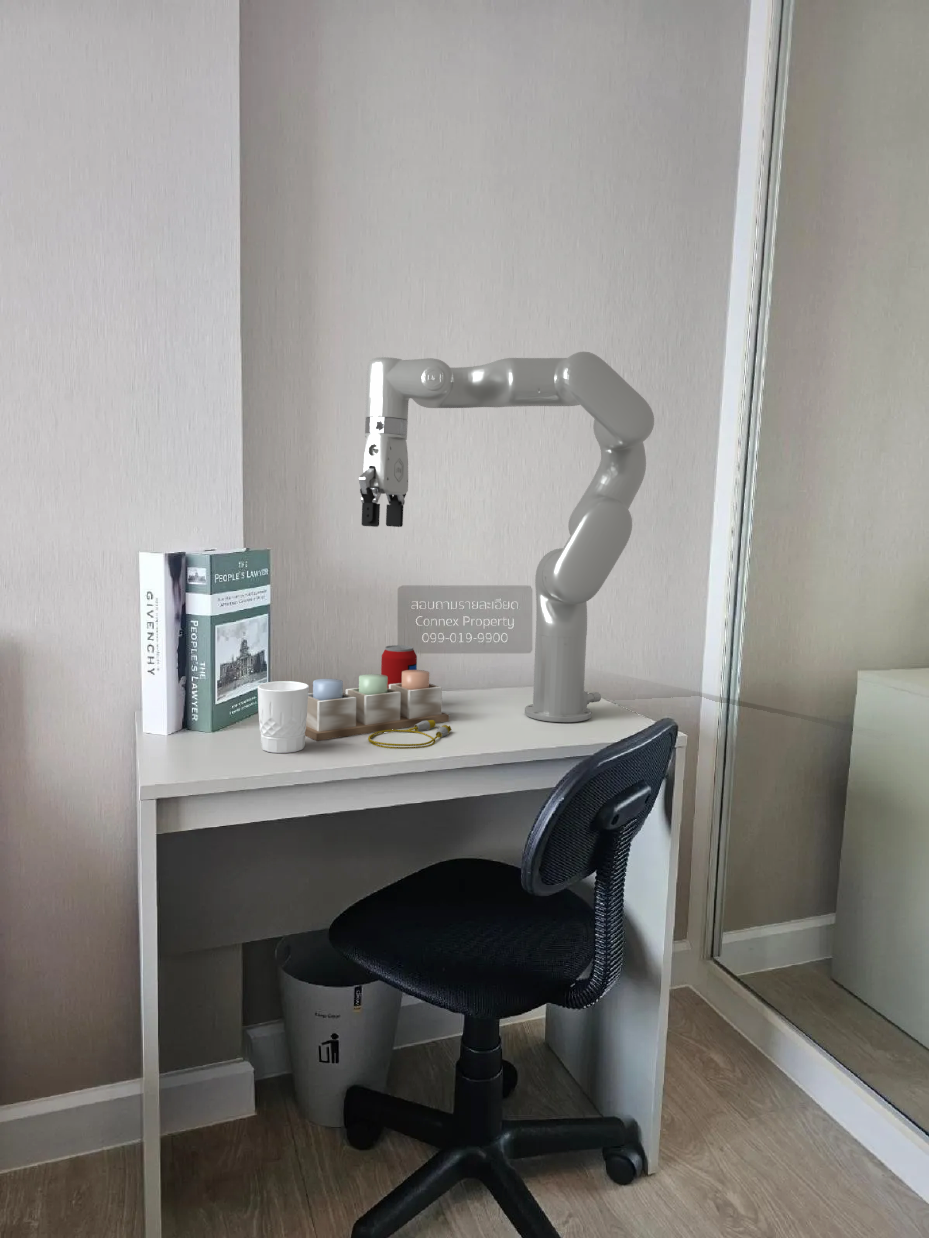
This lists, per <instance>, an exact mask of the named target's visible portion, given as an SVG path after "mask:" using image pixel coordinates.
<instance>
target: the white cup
mask: <svg viewBox="0 0 929 1238" xmlns="http://www.w3.org/2000/svg"><path fill="white" fill-rule="evenodd" d="M309 687H310V686H309V684H307V683H305V682H304V683H303V682H300V681H289V680H284V681H279V680H278V681H269V682H264V683H263V682H262V683H260V684H258V685H257V704H258V705H257V706H258V707H257V708H258V709H257V711H258V721H259V732H260V748H261V749H262V751H264V752H268V753H274V754H287V753H295V752H296V753H297V752H299V751H301V750H303V749H304V748H305V746H306V743H305V742H306V736H305V731H306V720H307V709H308V693H309Z"/></svg>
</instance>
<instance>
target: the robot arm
mask: <svg viewBox="0 0 929 1238" xmlns="http://www.w3.org/2000/svg"><path fill="white" fill-rule="evenodd" d="M365 394H366V397H365V398H366V400H365V425H364V427H365V428H364V437H365V438H366V439H365V444H364V453H363V461H362V463H363V464H362V473H361V475H360V476H359V477H358V481H359V493H360V495H361V497H360V502H361V504H362V505H361V526H363V527H373V528H374V527H375V528H378V527H379V526H380V514H381V513H380V512H381V503H378V502H379V500H380V497H381V495H382V494H385V496H386V498H387V502H388V504H386V512H385V526H386V527H394V528H395V527H398V528H402V527H403V526H404V505H405V497H406V495H407V493H408V492H409V453H408V444H407V440H408V424H409V422H408V421H409V402H410V401H409V400H411V399H412V400H413V401H414V402H415V403H416V404H417V405H419V406H421V407H424V408H426V409H427V408H428V409H469V408H470V409H473V408H506V407H507V408H509V407H514V408H515V407H575V406H580V407H582V408H583V409H584V410H585V412H587V413H588V414H589V415H590V416H591V417H592V418H594V419H593V424H592V425H593V433H594V437H595V439H596V441H597V443H598V446H599V449H600V463H599V465H598V468H597V469H596V472H595V474H594V475H593V477H592V480H591V482H590V483H589V484H588V487H587V489H586V490H585V492H584V493H583V495H582V496H581V498H580V500H579V501H578V503H577V504H576V506H575V507H574V508H573V511H572V513H571V514H570V517H569V518H568V519H569V520H568V532H569V534H570V536H569V538H568V540H567V541H566V542H565V545H564V546H563V547H562V548H556V549H552V550H550V551H549V552H546V553H545V555H543V556H542V558H541V559H540V561H539V563H538V564H537V567H536V571H535V579H534V580H535V581H534V582H535V583H534V584H535V602H536V603H535V604H536V606H535V607H536V609H535V610H536V612H535V613H536V615H535V616H536V617H535V618H536V620H535V625H536V626H535V643H534V644H535V647H534V669H533V670H534V671H533V673H534V674H533V695H532V703H531V704H528V705H526V706H525V707H524V715H526V717H528V718H531V719H533V720H534V719H535V720H538V721H544V722H550V723H577V722H578V723H579V722H584V721H587V720H589V719H591V717H592V710H591V709H590V708H589V707H588V705H589V704H590V703H598V702H600V701H601V700H602V697H601V693H600V692H599V691H593V692H589V693H588V691H586V690H585V677H586V676H585V675H586V674H585V673H586V655H587V652H586V651H587V635H588V606H587V605H588V604H587V602H588V601H589V600H591V599H593V598H594V597H595V596H596V595H597V593H598V592H599V591H600V589H601V588H602V587H603V585H604V584H605V582H606V580H607V579H608V577H609V576H610V574H611V572H612V570H613V569H614V567H615V566H616V563H617V562H618V560H619V558H620V557H621V555H622V553H623V551H624V550H625V548H626V546H627V544H628V543H629V540H630V538H631V535H632V531H633V518H632V514H631V512H630V510H629V509H630V507H631V505H632V503H633V501H634V500H635V497H636V495H637V494H638V491H639V490H640V488H641V485H642V483H643V481H644V478H645V475H646V470H647V457H646V449H645V444H644V442H645V441H646V440H647V439H648V438H649V437H650V436H651V434H652V433H653V430H654V426H655V417H654V415H655V414H654V412H653V409H652V407H651V406H650V404H649V402H648V401H647V400H646V399H645V398H644V397H643V396H642V394H640V393H639V392H638V391H637V390H636V389H635V388H633V387H632V386H631V385H630V384H629V383H628V382H627V381H626V380H625V379H624V378H623V377H622V376H621V375H620V374H619V373H618V372H617V371H616V370H615V369H613V367H611V366H610V365H609V364H608V363H607V362H606V361H605V360H603V358H601V357H600V356H598V355H596V354H595V353H593V352H589V351H578V352H575V353H573V354H571V355H570V356H569V357H508V358H501V359H498V360H496V361H495V360H494V361H492V362H489V363H486V364H482V365H476V366H475V365H474V366H473V365H472V366H462V367H450V366H449V365H448V364H447V363H446V362H445V361H443V360H441V359H437V358H429V357H427V358H419V359H401V358H395V357H388V356H387V357H386V356H385V357H384V356H383V357H381V356H380V357H375V358H372V359H371V360H369V362H368V363H367V370H366V393H365Z"/></svg>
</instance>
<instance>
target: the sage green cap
mask: <svg viewBox="0 0 929 1238" xmlns="http://www.w3.org/2000/svg"><path fill="white" fill-rule="evenodd" d="M387 681H388V677H387V676H385V675H381V673H379V674H378V673H375V674H374V673H370V674H368V673H367V674H366V673H365V674H360V675H359V676H358V688H359V692H360V693H363V694H366V695H374V694H382V693H387Z"/></svg>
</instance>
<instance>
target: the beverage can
mask: <svg viewBox="0 0 929 1238" xmlns="http://www.w3.org/2000/svg"><path fill="white" fill-rule="evenodd" d="M380 661H381V667H380V675H385V676H387V677H388V681H387V688H389V684H397V683H402V671H405V670H418V669H417V667H418V666H417V665H418V663H417V662H418V655H417V653H416V652H415V649H414V646H410V645H402V644H401V645H399V644H397V645H395V644H394V645H393V644H392V645H387V646H385V648H384V651H383V652H382V654H381V660H380Z"/></svg>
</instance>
